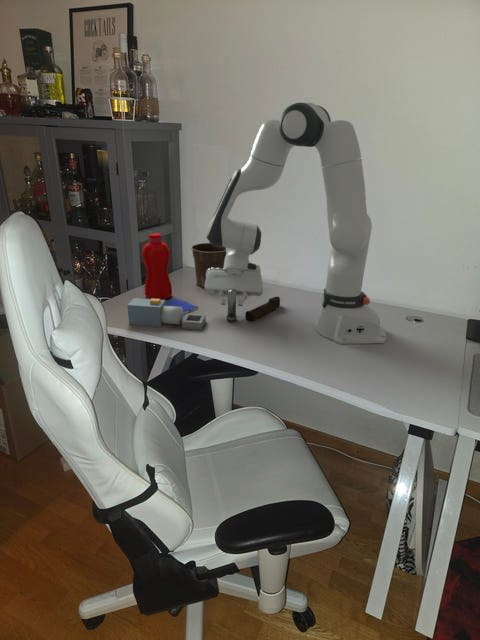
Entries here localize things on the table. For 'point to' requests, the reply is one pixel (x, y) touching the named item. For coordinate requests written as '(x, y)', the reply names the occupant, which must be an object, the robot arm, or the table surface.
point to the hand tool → (263, 309)
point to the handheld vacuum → (161, 314)
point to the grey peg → (231, 306)
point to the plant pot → (207, 259)
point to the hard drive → (181, 305)
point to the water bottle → (156, 268)
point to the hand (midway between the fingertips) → (231, 305)
